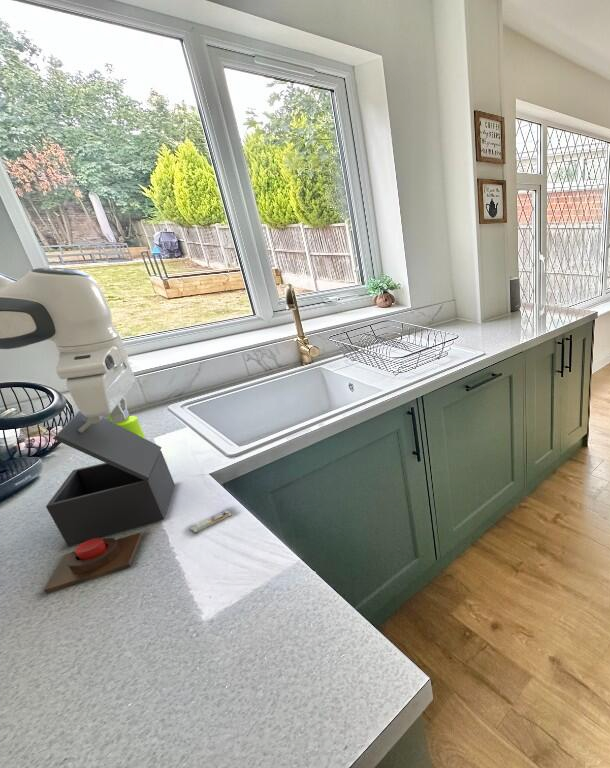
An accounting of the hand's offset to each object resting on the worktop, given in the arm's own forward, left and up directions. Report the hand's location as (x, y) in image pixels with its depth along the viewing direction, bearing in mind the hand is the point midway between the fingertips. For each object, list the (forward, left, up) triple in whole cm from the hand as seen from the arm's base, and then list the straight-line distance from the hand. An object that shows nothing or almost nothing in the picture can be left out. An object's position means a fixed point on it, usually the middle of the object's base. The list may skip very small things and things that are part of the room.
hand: (122, 419), depth 84 cm
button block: (-5, -19, -20) cm, 28 cm away
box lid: (-2, -3, -4) cm, 5 cm away
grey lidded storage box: (-4, -4, -20) cm, 21 cm away
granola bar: (+12, -17, -20) cm, 28 cm away
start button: (-5, -19, -17) cm, 26 cm away
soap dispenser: (-6, +18, -20) cm, 28 cm away
